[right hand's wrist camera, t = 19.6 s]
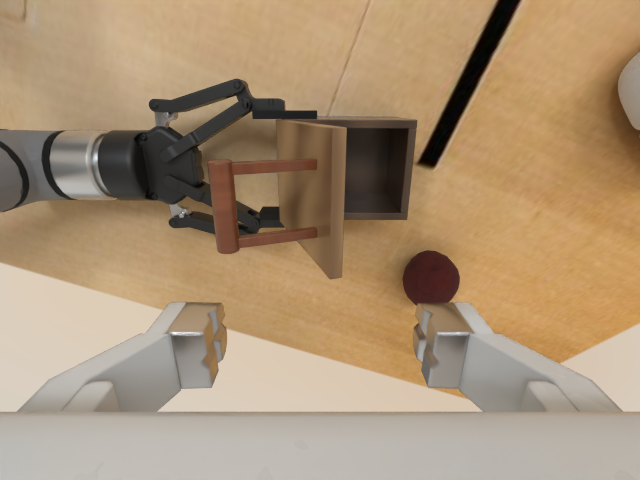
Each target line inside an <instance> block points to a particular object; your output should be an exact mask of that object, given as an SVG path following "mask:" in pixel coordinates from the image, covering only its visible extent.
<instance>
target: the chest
mask: <svg viewBox="0 0 640 480" xmlns="http://www.w3.org/2000/svg"><path fill="white" fill-rule="evenodd" d="M285 120H293V121H300V122H308V123H316V124H323V125H331V126H339V127H346V128H347V136H346V167H345V198H344V220H407V215H408V213H407V212H408V204H409V195H410V185H411V175H412V166H413V156H414V147H415V137H416V128H417V120H413V119H406V118H399V117H317V119H285Z"/></svg>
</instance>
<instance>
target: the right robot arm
mask: <svg viewBox="0 0 640 480" xmlns="http://www.w3.org/2000/svg"><path fill="white" fill-rule="evenodd" d="M224 316H225V314H224V308H223V305H222V303H204V302H189V303H188V302H172V303H169V304H168V305H167V307H166V308H165V309H164V310H163V312H162V313H161V314H160V316H159V317H158V318H157V319H156V321H155V322H154V323H153V324H152V326H151V327H150V328H149V330H148V331H147V332H146V333H145V334H138V335H137V336H134V337H132V338H131V339H129V340H127V341H125V342H123V343H121V344H119V345H117V346H115V347H113V348H111V349H109V350H107V351H105V352H103V353H101V354H99V355H97V356H95V357H93V358H91V359H89V360H87V361H85V362H83V363H81V364H79V365H77V366H75V367H73V368H71V369H69V370H67V371H65V372H63V373H61V374H59V375H57V376H55V377H53V378H51V379H49V380H48V381H47V382H46V383H45V384H44V385H43V386H42V387H41V388H40V389H39V390H38V391H37V392H36V393H35V394H34V395H33V396H32V397H31V398H30V399H29V400H28V401H27V402H26V403H25V404H24V405H23V406H22V407H21V408H20V409H19V410H18V411H17V412H0V480H640V412H623V411H622V410H621V409H620V408H619V407H618V406H617V405H616V404H615V403H614V402H613V401H612V400H611V399H610V398H609V397H608V396H607V395H606V394H605V393H604V392H603V391H602V390H601V389H600V388H599V387H598V386H597V385H596V384H595V383H594V382H593V381H592V380H591V379H588V378H587V377H585V376H583V375H581V374H579V373H577V372H575V371H573V370H571V369H569V368H567V367H565V366H563V365H561V364H559V363H557V362H555V361H553V360H551V359H549V358H547V357H545V356H543V355H541V354H539V353H537V352H535V351H533V350H531V349H529V348H527V347H525V346H523V345H521V344H519V343H517V342H515V341H513V340H511V339H509V338H507V337H506V336H504V335H502V334H495V333H494V332H493V331H492V330H491V328H490V327H489V326H488V325H487V323H486V322H485V321H484V319H483V318H482V317H481V316H480V314H479V313H478V312H477V311H476V309H475V308H474V307H473V305H472V304H471V303H469V302H451V303H418V305H417V307H416V314H415V316H416V318H417V320H418V324H417V325H416V326H415V327H414V331H413V347H414V351H415V355H416V357H417V360H419V361H420V362H422V373H423V375H424V378H425V380H426V383H427V386H428V388H452V389H459V390H460V391H461V392H462V393H463V394H464V395H465V396H466V397H467V398H469V399H470V400H471V401H472V402H473V403H474V404H475V405H476V406H478V407H479V408H480V409H481V410H482V411H483V412H157V411H158V410H159V409H160V408H161V407H163V406H164V405H165V404H166V403H167V402H168V401H169V400H170V399H171V398H173V397H174V396H175V395H176V394H177V393H178V392H180V391H181V389H187V388H212V385H213V383H214V380H215V378H216V375H217V373H218V362H220V361H221V360H222V359H223V357H224V355H225V351H226V345H227V331H226V327H225V326H224V325H223V324H222V320H223V318H224Z"/></svg>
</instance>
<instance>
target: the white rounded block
mask: <svg viewBox="0 0 640 480" xmlns="http://www.w3.org/2000/svg"><path fill="white" fill-rule="evenodd" d="M618 94H619V98H620V101H621V104H622V106H623V109H624V111H625V113H626V115H627V117H628V119H629V121H630V123H631V124H632V126H633V127H634V128H635V129H637V130H640V52H639V53H637V54H636V55H635V56H634V57H633V58H632V59H631V60H630V61H629V62H628V63H627V65H626V66H625V67H624V69H623V70H622V72H621V74H620V77H619V80H618ZM639 139H640V133H639Z"/></svg>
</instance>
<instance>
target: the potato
mask: <svg viewBox="0 0 640 480" xmlns="http://www.w3.org/2000/svg"><path fill="white" fill-rule="evenodd" d="M459 281H460V276H459V272H458V269H457V268H456V266H455V265H454V264H453V263H452V262H451V260H450V259H449V258H448V257H447V256H445V255H443V254H440V253H438V252H436V251H424V252H421V253H419V254H417V255H416V256H415V257H414V258H412V259H411V261H410V262H409V263H408V265H407V266H406V268H405V271H404V275H403V285H404V290H405V292H406V294H407V296H408V298H409V299H410V300H411V301H412V302H413V303H414V304H415V305H418V303H448V302H449V301H450V300H451V299H452V298H453V297H454V295H455V294H456V292H457V290H458V287H459Z"/></svg>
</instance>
